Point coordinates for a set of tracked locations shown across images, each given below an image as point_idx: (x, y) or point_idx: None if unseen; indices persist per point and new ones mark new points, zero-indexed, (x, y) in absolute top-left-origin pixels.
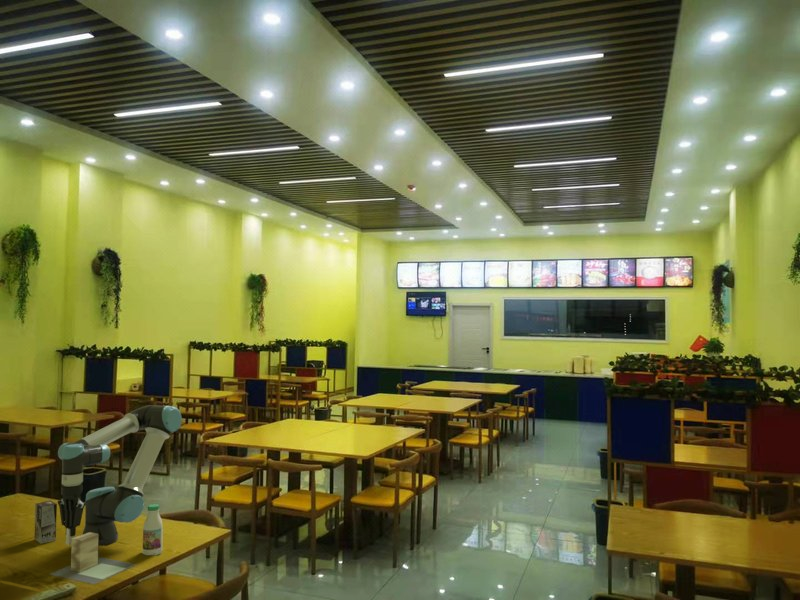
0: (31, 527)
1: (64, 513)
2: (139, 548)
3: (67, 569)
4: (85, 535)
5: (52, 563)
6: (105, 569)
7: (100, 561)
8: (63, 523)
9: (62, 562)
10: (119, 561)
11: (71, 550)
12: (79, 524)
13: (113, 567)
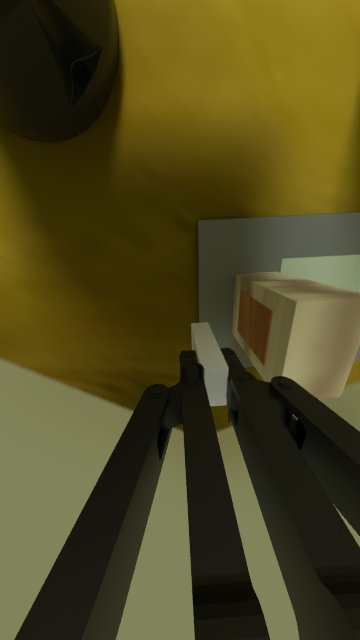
0: None
1: (141, 520)
2: (307, 6)
3: (219, 334)
4: (314, 347)
5: (123, 313)
6: None
7: (266, 248)
8: (169, 431)
9: (142, 296)
10: (332, 217)
11: (254, 365)
12: (296, 389)
13: (343, 266)
